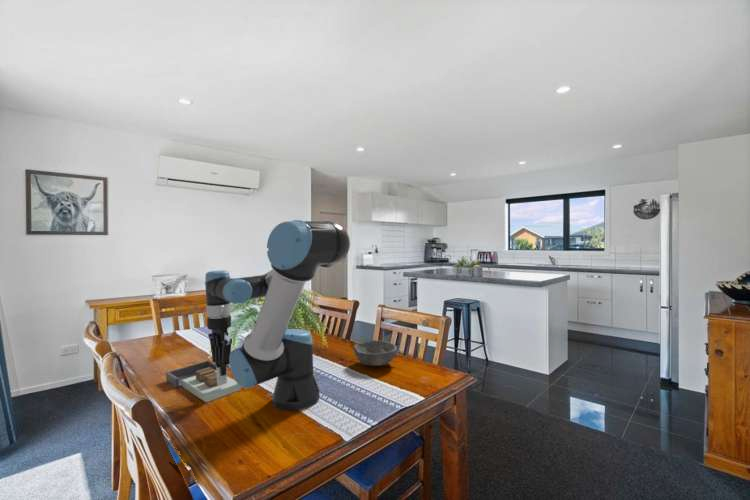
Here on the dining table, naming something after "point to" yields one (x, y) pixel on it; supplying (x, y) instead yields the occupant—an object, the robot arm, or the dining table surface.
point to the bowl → (375, 352)
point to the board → (207, 392)
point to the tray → (186, 373)
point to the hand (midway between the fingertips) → (222, 383)
